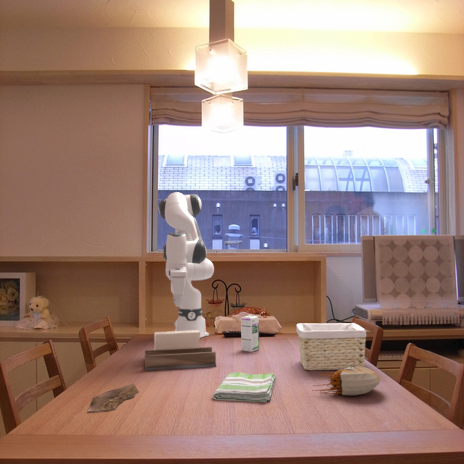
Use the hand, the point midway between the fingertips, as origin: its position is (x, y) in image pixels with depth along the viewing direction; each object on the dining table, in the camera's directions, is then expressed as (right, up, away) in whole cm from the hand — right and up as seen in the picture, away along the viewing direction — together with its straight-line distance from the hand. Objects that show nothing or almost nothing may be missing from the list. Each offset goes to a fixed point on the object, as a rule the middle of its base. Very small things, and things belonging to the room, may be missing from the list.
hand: (176, 305), depth 177 cm
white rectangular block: (0, -21, -1) cm, 21 cm away
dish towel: (+27, -20, -42) cm, 54 cm away
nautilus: (+57, -19, -47) cm, 76 cm away
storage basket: (+60, -20, -16) cm, 65 cm away
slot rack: (+3, -20, -14) cm, 25 cm away
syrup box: (+31, -21, +10) cm, 39 cm away
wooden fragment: (-12, -20, -49) cm, 54 cm away
